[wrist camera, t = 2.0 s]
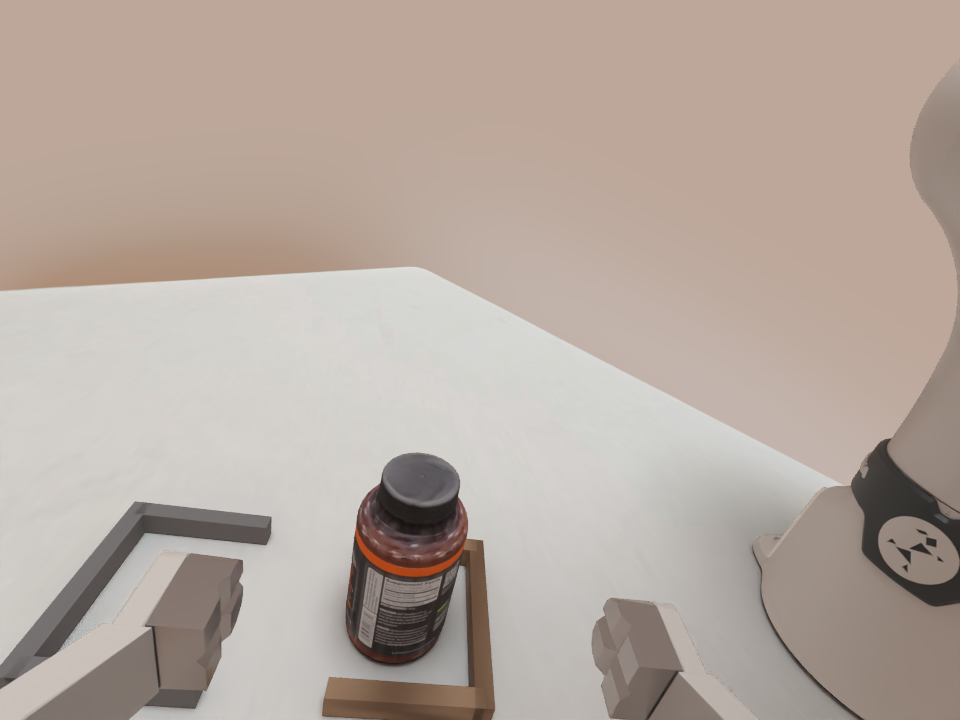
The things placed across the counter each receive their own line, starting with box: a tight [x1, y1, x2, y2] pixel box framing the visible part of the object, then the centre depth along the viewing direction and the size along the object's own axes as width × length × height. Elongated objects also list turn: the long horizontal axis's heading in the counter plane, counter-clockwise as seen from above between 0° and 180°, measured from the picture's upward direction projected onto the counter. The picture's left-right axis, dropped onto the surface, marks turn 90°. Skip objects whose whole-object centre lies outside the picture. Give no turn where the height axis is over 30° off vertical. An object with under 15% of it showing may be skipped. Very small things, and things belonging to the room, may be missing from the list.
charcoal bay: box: [0, 502, 271, 708], centre depth 27 cm, size 8×11×2 cm
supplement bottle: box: [346, 453, 468, 663], centre depth 27 cm, size 6×6×11 cm
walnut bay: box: [322, 539, 495, 720], centre depth 29 cm, size 8×11×2 cm
